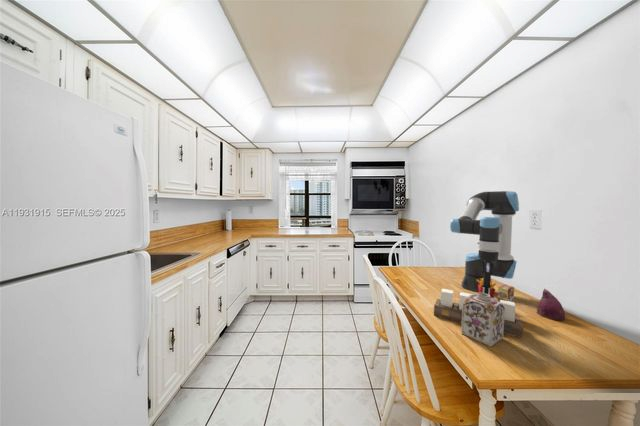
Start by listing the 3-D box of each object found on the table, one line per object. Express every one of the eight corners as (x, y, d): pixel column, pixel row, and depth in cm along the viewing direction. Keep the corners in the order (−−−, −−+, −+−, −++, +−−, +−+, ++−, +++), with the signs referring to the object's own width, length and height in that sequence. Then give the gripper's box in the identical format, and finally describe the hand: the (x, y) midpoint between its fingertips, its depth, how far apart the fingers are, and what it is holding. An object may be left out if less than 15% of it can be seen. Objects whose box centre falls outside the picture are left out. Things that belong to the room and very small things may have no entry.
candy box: (506, 320, 115) (507, 289, 115) (495, 317, 119) (497, 286, 118) (513, 316, 120) (514, 286, 119) (503, 313, 124) (504, 283, 123)
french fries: (494, 307, 131) (496, 280, 130) (477, 304, 133) (478, 278, 133) (489, 301, 139) (490, 275, 138) (472, 299, 142) (474, 273, 141)
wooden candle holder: (436, 308, 128) (437, 298, 128) (519, 327, 109) (519, 316, 109) (433, 315, 119) (434, 305, 119) (522, 337, 100) (523, 326, 100)
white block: (459, 305, 120) (460, 292, 119) (471, 308, 117) (472, 294, 117) (458, 309, 116) (459, 295, 115) (471, 312, 113) (471, 297, 112)
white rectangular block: (441, 301, 124) (442, 288, 124) (452, 304, 121) (453, 290, 121) (440, 305, 120) (441, 291, 120) (451, 307, 117) (452, 293, 117)
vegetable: (538, 322, 121) (529, 293, 122) (538, 313, 129) (530, 285, 129) (567, 324, 114) (558, 293, 115) (565, 314, 122) (557, 285, 122)
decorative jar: (460, 333, 103) (462, 292, 102) (473, 326, 109) (475, 287, 109) (492, 347, 93) (494, 302, 92) (504, 339, 99) (506, 296, 99)
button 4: (499, 314, 111) (500, 299, 111) (513, 317, 108) (514, 302, 108) (500, 318, 107) (501, 303, 106) (514, 322, 104) (515, 306, 104)
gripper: (478, 247, 118) (476, 294, 119) (478, 251, 107) (475, 303, 108) (497, 249, 114) (495, 298, 115) (499, 253, 103) (496, 307, 104)
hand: (485, 300), depth 111 cm, fingers closed
